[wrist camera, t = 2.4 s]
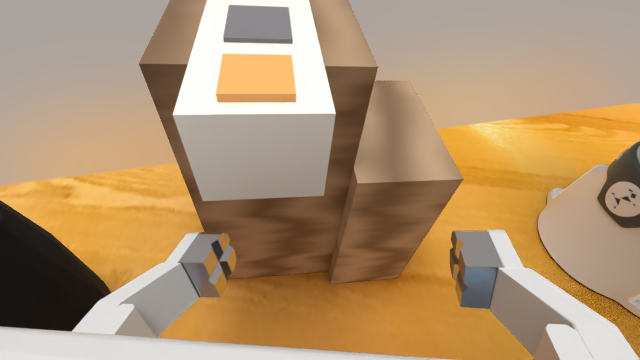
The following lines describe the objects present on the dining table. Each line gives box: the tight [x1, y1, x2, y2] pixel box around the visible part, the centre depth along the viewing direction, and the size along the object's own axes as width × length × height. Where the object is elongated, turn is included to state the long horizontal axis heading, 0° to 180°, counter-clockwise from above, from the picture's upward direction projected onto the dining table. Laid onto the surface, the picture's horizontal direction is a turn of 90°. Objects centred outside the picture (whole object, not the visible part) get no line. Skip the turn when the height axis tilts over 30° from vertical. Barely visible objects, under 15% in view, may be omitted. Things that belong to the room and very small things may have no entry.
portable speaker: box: [0, 201, 111, 332], centre depth 23 cm, size 9×9×20 cm
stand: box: [139, 0, 463, 284], centre depth 30 cm, size 20×14×26 cm
